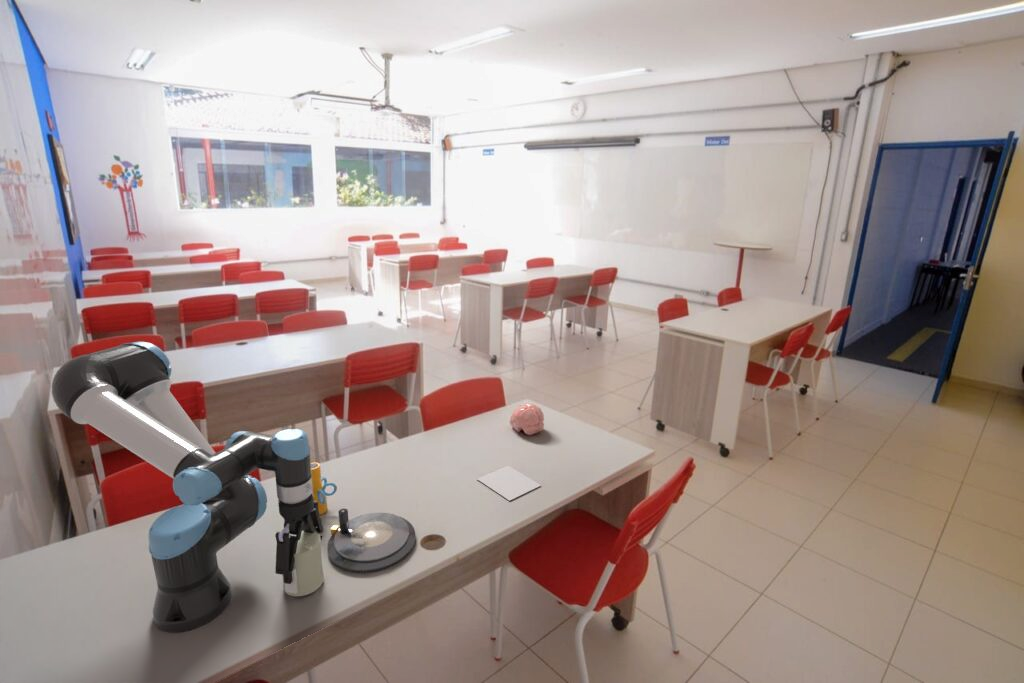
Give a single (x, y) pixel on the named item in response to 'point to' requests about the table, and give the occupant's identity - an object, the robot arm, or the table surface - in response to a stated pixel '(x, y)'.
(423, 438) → the table surface
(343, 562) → the turntable base
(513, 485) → the paper stack
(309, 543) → the can
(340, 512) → the turntable
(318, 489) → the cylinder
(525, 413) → the brain
